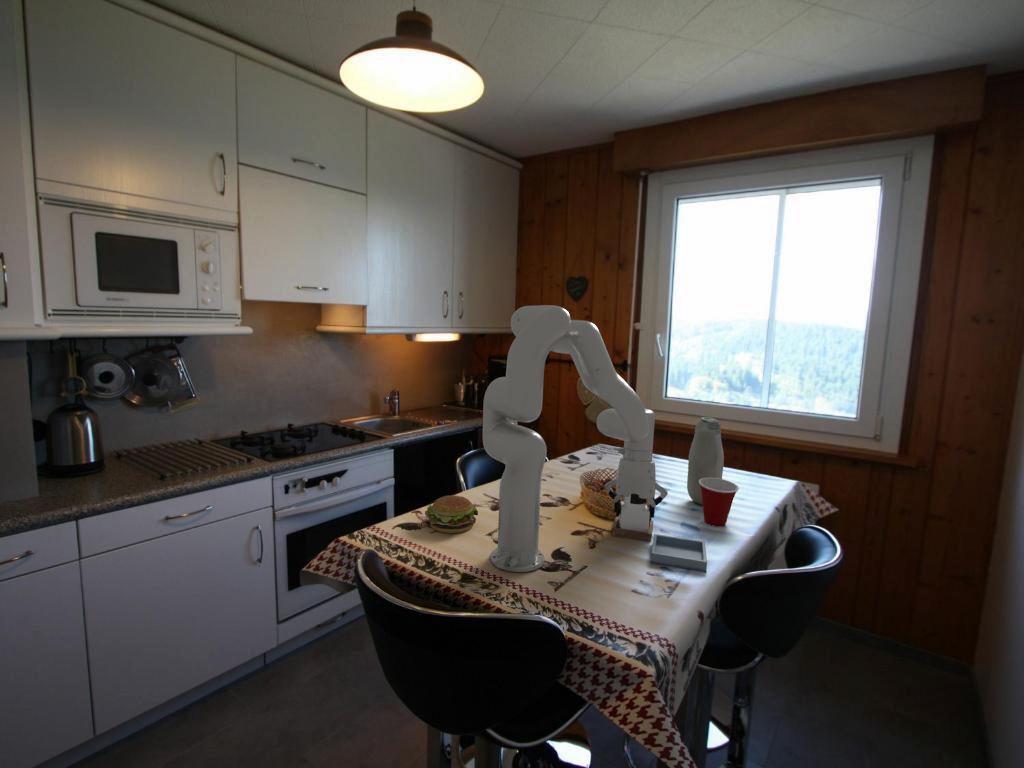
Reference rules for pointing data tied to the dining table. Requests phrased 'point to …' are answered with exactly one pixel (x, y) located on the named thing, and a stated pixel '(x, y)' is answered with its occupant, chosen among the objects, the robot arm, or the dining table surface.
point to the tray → (679, 553)
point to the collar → (632, 532)
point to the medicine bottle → (634, 514)
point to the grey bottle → (704, 456)
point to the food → (451, 514)
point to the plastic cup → (717, 499)
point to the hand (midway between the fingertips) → (633, 517)
